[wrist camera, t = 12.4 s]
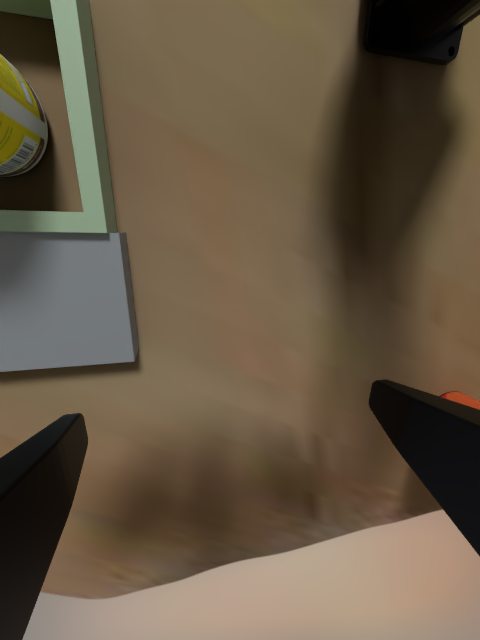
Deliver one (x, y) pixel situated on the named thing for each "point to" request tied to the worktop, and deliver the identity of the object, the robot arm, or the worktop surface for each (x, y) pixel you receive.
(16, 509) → the robot arm
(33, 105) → the supplement bottle
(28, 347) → the green flat frame
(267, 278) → the worktop surface
